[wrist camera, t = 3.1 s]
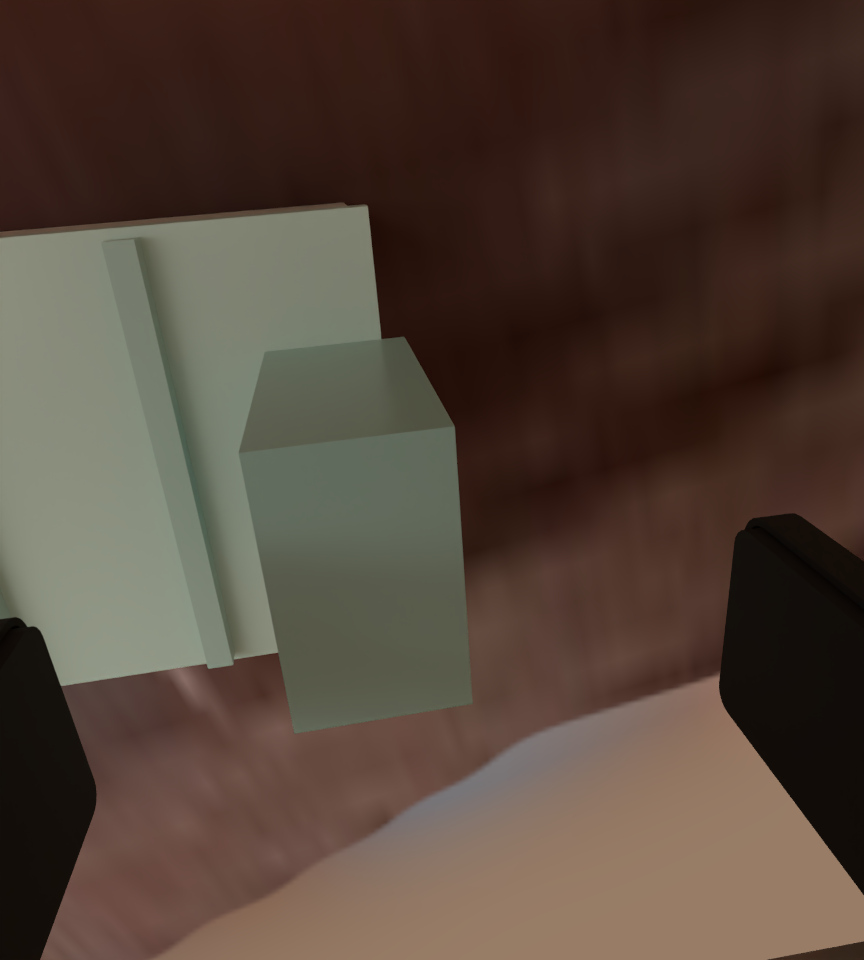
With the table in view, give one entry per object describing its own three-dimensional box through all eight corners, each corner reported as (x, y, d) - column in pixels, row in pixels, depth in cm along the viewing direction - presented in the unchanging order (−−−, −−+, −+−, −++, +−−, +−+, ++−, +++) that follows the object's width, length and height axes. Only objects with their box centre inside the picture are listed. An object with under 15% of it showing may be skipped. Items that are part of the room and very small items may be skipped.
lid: (-350, 264, 14) (-994, 353, 7) (383, 200, 16) (441, 224, 9) (-142, 675, 19) (-421, 985, 12) (421, 592, 20) (480, 818, 13)
